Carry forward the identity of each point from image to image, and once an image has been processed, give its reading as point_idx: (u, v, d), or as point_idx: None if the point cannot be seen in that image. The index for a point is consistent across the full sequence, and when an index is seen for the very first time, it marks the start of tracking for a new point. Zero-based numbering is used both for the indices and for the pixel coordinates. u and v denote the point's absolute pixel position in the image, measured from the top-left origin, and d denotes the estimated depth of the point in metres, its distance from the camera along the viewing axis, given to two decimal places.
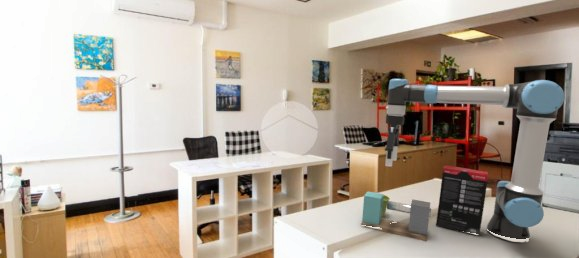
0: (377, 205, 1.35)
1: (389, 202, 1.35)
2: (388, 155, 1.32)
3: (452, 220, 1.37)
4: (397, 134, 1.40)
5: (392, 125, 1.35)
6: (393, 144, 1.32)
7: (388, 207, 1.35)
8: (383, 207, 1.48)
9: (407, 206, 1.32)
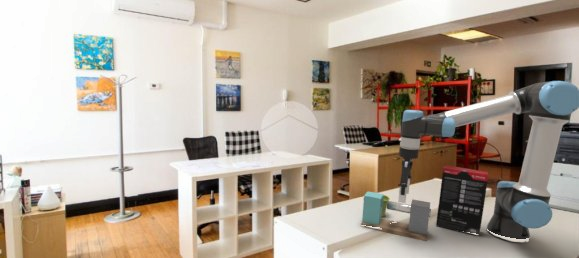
0: (377, 205, 1.35)
1: (389, 202, 1.35)
2: (402, 191, 1.25)
3: (452, 220, 1.37)
4: (410, 167, 1.33)
5: (406, 159, 1.28)
6: (407, 179, 1.26)
7: (388, 207, 1.35)
8: (383, 207, 1.48)
9: (407, 206, 1.32)
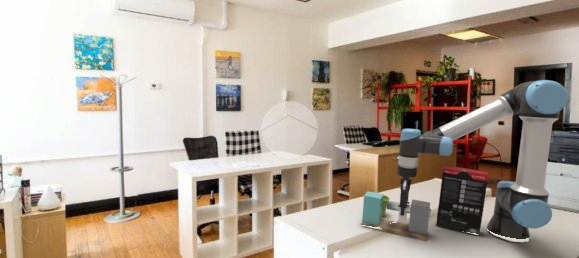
0: (377, 205, 1.35)
1: (389, 202, 1.35)
2: (401, 212, 1.31)
3: (452, 220, 1.37)
4: None
5: (404, 178, 1.29)
6: (406, 201, 1.30)
7: (388, 207, 1.35)
8: (383, 207, 1.48)
9: (407, 206, 1.32)
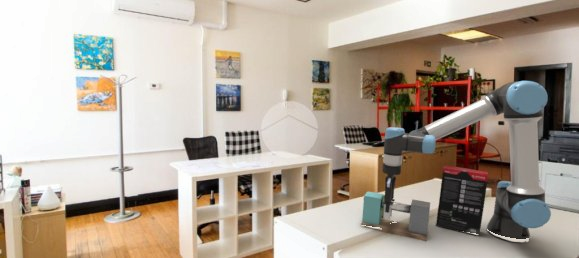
0: (377, 205, 1.35)
1: None
2: (386, 209, 1.33)
3: (452, 220, 1.37)
4: (393, 184, 1.36)
5: (389, 175, 1.31)
6: (391, 198, 1.32)
7: None
8: None
9: (392, 203, 1.34)
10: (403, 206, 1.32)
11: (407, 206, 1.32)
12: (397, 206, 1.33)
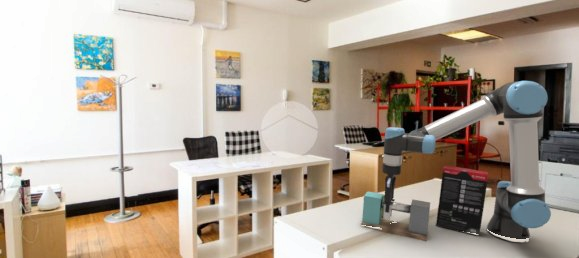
0: (377, 205, 1.35)
1: None
2: (386, 209, 1.33)
3: (452, 220, 1.37)
4: (393, 184, 1.36)
5: (389, 175, 1.31)
6: (390, 198, 1.32)
7: None
8: None
9: (392, 203, 1.34)
10: (403, 206, 1.32)
11: (407, 206, 1.32)
12: (397, 206, 1.33)
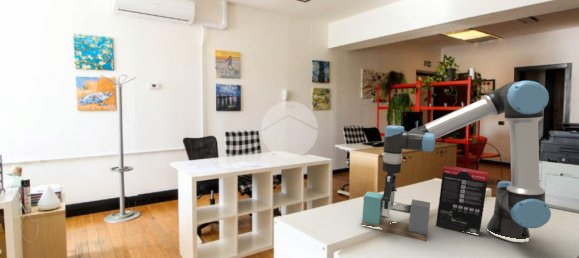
0: (377, 205, 1.35)
1: None
2: (385, 205, 1.29)
3: (452, 220, 1.37)
4: (394, 181, 1.37)
5: (389, 173, 1.31)
6: (390, 194, 1.29)
7: None
8: None
9: (392, 203, 1.34)
10: (403, 206, 1.32)
11: (407, 206, 1.32)
12: (398, 206, 1.33)
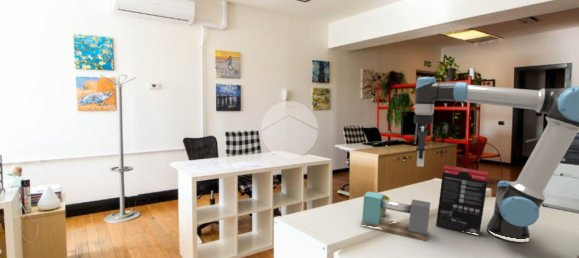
0: (377, 205, 1.35)
1: None
2: (420, 155, 1.30)
3: (452, 220, 1.37)
4: None
5: (422, 124, 1.32)
6: None
7: None
8: None
9: (392, 203, 1.34)
10: (403, 206, 1.32)
11: (407, 206, 1.32)
12: (398, 206, 1.33)
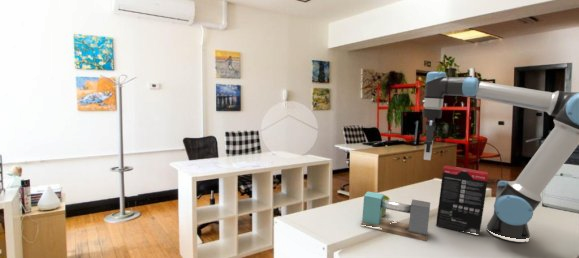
0: (377, 205, 1.35)
1: None
2: (427, 148, 1.31)
3: (452, 220, 1.37)
4: None
5: (430, 118, 1.34)
6: None
7: None
8: None
9: (392, 203, 1.34)
10: (403, 206, 1.32)
11: (407, 206, 1.32)
12: (398, 206, 1.33)
